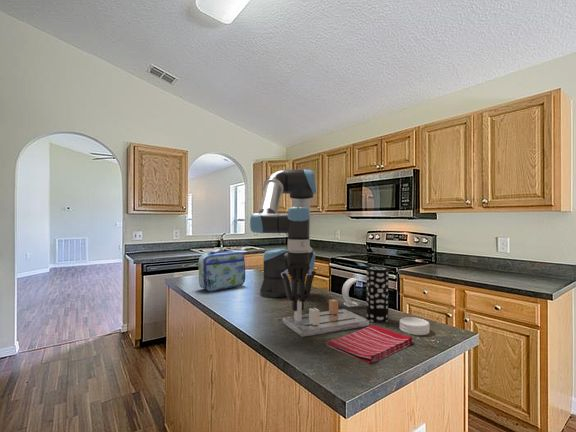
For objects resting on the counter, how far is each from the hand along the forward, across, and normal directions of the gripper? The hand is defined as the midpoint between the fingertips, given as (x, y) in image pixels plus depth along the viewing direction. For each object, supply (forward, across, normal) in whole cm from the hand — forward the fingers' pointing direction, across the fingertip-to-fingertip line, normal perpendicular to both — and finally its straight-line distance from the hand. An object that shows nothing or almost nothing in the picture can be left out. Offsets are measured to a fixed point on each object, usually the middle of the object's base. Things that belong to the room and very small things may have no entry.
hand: (297, 319), depth 109 cm
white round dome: (+5, +40, -14) cm, 42 cm away
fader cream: (+2, +7, 0) cm, 7 cm away
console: (+4, +14, +4) cm, 15 cm away
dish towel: (+5, +17, -18) cm, 25 cm away
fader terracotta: (+2, +20, +8) cm, 21 cm away
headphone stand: (+4, +38, +22) cm, 44 cm away
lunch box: (+4, -8, +79) cm, 80 cm away
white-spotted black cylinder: (+5, +36, +1) cm, 36 cm away
